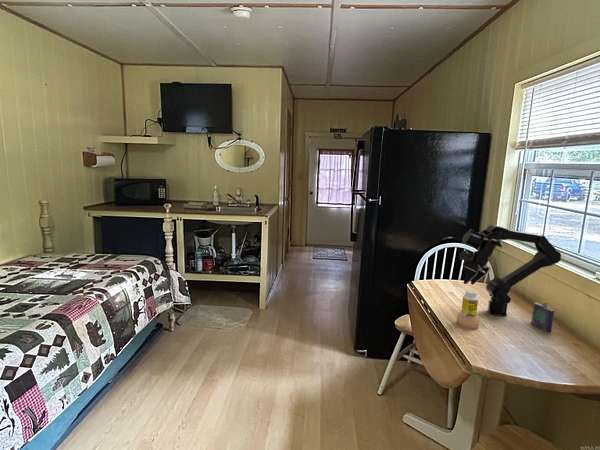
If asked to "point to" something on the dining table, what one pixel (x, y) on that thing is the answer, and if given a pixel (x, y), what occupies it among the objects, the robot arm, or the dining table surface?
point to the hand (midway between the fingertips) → (468, 284)
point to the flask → (542, 316)
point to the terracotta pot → (467, 322)
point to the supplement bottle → (469, 304)
